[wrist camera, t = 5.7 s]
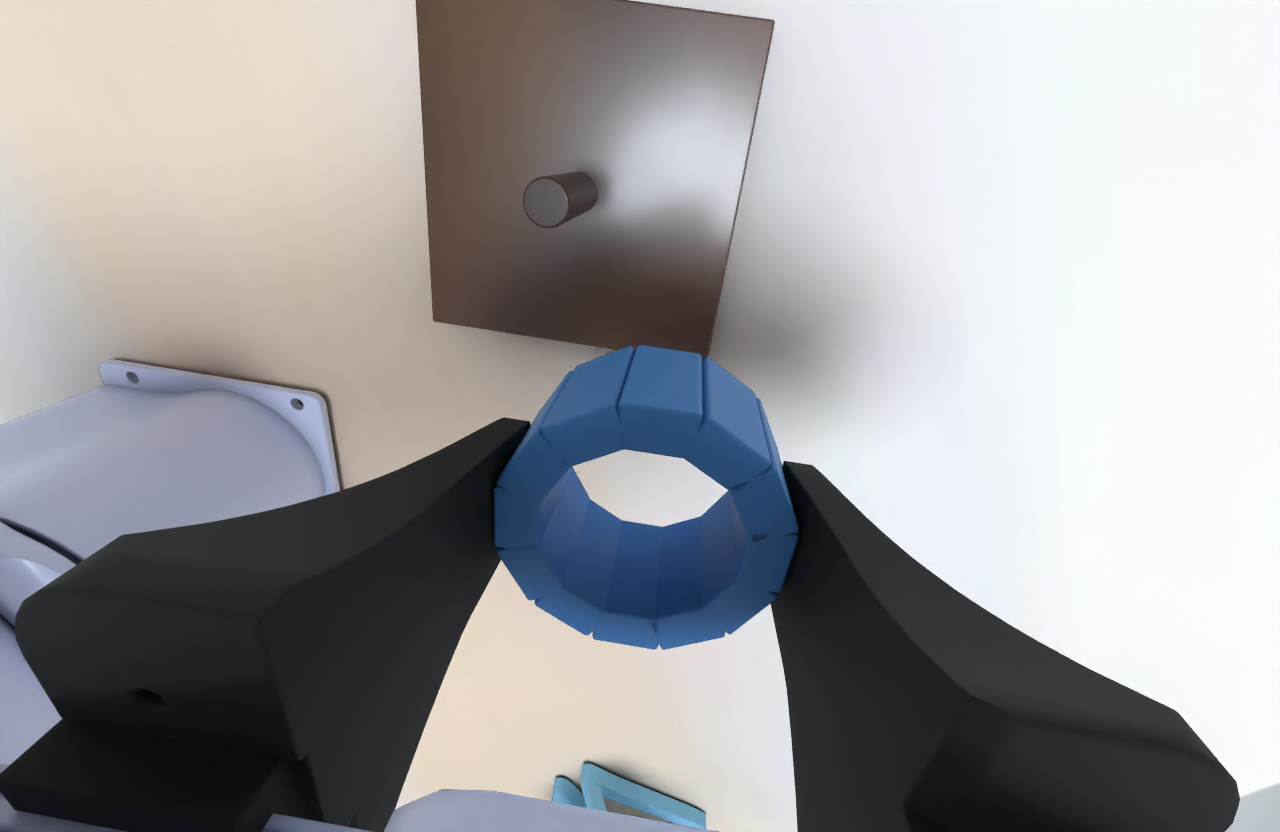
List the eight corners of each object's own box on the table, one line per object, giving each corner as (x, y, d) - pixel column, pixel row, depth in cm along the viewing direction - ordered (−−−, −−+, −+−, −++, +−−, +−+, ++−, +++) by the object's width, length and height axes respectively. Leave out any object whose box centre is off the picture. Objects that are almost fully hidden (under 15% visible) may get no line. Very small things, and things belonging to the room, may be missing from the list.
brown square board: (442, 315, 20) (371, 360, 15) (426, -21, 15) (319, -91, 11) (706, 356, 19) (708, 414, 15) (771, 26, 15) (802, -27, 10)
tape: (533, 533, 14) (494, 624, 11) (540, 328, 11) (491, 382, 9) (745, 567, 14) (757, 668, 11) (801, 367, 11) (834, 434, 8)
